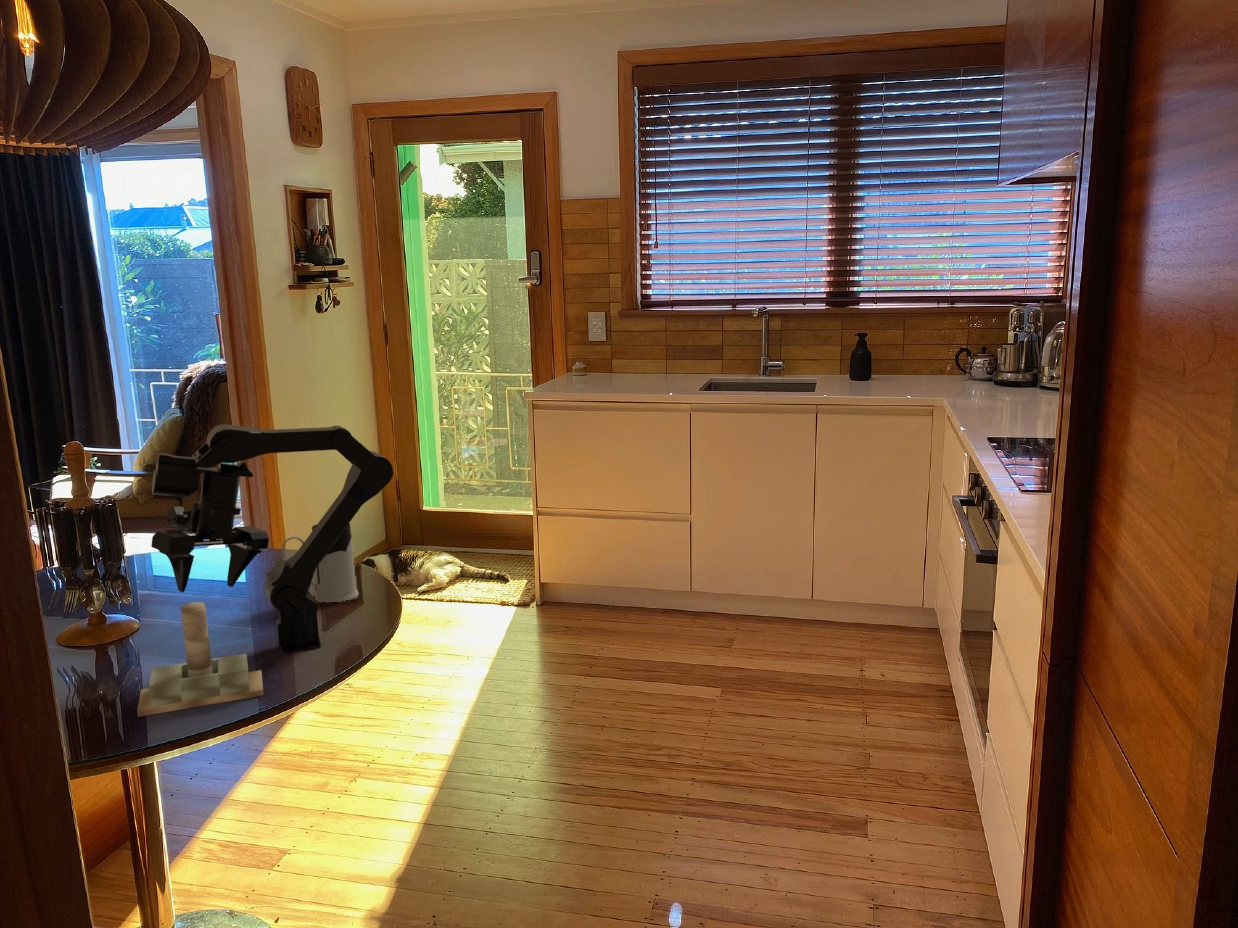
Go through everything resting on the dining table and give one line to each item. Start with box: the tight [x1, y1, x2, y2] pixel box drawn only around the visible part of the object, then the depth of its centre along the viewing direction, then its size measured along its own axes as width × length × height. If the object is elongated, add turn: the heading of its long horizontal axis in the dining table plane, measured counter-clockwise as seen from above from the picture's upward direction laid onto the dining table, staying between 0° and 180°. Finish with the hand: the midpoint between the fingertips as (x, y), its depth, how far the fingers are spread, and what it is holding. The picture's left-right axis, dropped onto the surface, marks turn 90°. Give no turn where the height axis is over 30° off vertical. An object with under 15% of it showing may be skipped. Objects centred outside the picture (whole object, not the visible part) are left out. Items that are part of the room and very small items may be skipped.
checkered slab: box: [136, 653, 264, 717], centre depth 150 cm, size 18×8×4 cm, turn 112°
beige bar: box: [180, 601, 213, 677], centre depth 149 cm, size 4×4×14 cm
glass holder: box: [281, 522, 360, 604], centre depth 193 cm, size 9×14×15 cm, turn 116°
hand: (206, 588), depth 161 cm, fingers open, 9 cm apart
